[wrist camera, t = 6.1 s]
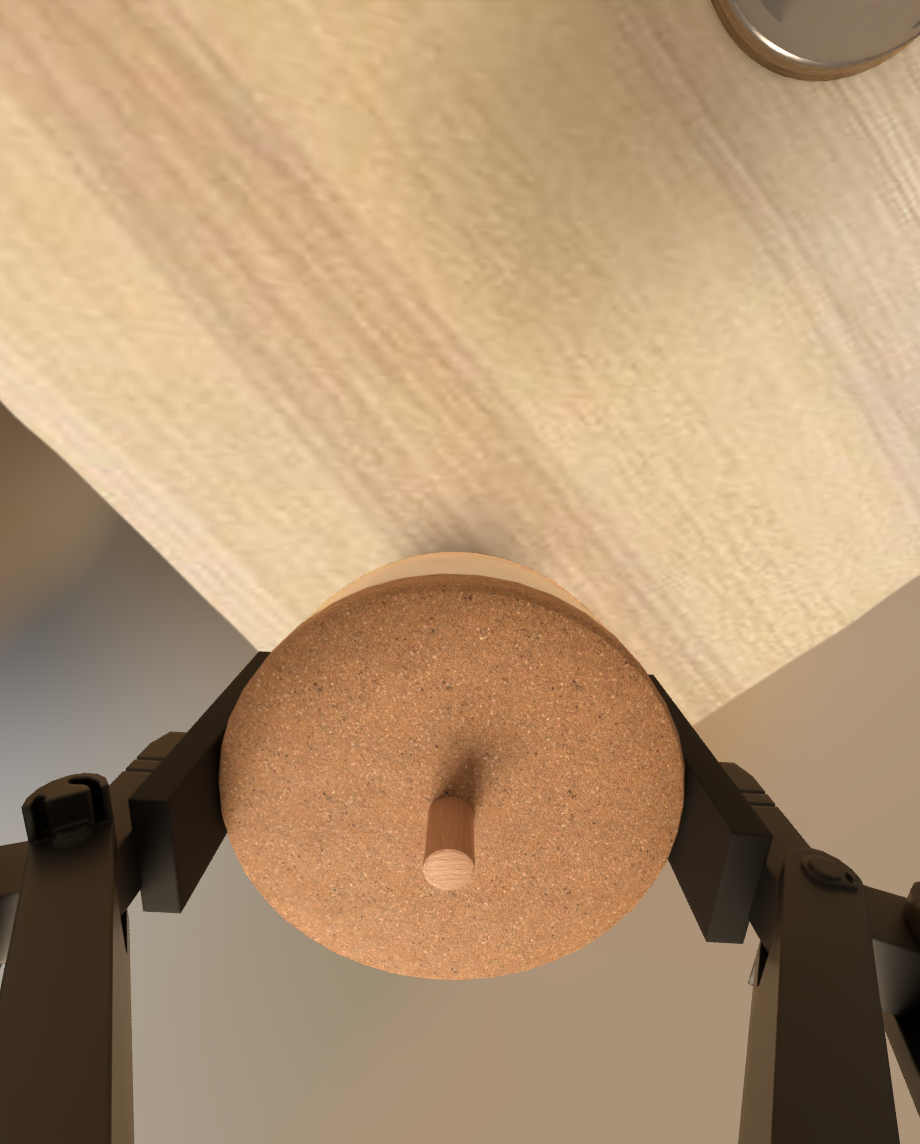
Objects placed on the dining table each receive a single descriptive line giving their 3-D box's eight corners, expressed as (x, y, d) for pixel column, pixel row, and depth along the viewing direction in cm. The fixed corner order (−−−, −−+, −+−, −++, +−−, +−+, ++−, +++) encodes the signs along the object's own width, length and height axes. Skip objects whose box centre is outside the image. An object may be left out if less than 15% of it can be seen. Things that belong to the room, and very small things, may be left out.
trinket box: (596, 778, 21) (699, 1055, 12) (328, 786, 21) (224, 1064, 12) (606, 510, 18) (756, 604, 9) (293, 522, 18) (119, 627, 9)
